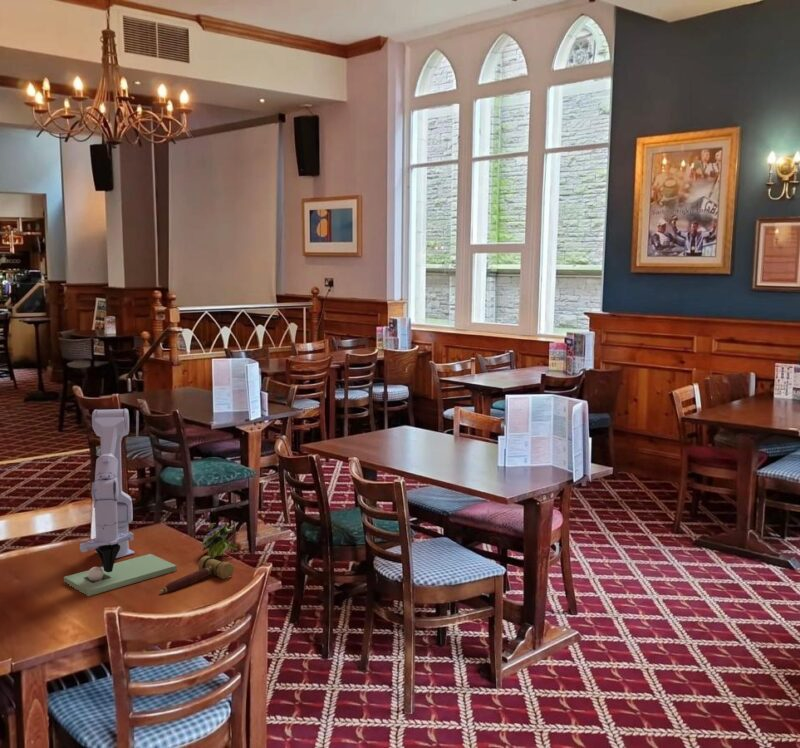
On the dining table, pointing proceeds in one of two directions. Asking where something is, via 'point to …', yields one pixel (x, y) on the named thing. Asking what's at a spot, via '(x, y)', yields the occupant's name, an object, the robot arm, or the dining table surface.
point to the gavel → (202, 573)
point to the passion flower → (218, 540)
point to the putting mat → (122, 574)
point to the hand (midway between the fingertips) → (108, 571)
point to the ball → (95, 574)
